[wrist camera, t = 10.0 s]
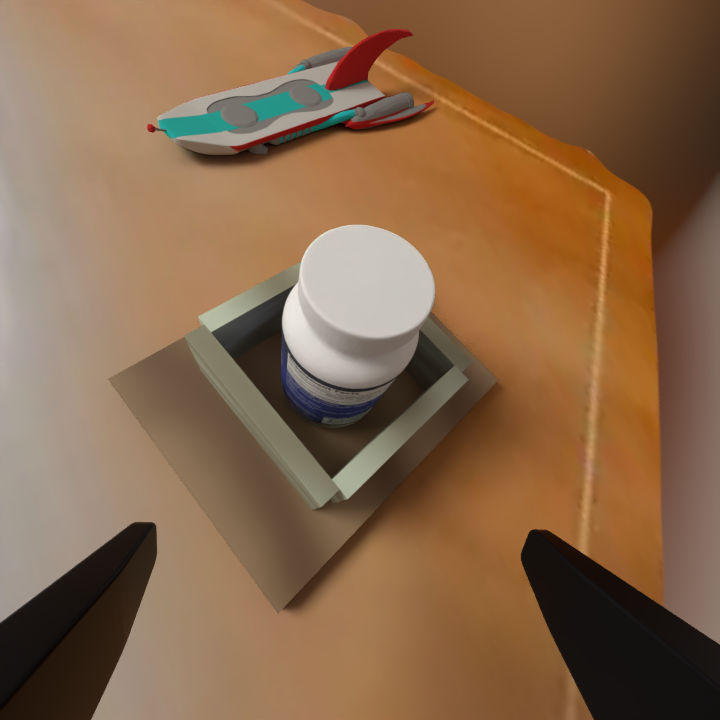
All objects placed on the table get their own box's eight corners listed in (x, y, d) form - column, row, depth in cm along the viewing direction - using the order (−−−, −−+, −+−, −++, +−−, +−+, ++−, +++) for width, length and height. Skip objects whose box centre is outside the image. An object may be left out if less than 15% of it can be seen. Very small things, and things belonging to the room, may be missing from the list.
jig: (277, 608, 16) (279, 642, 12) (115, 385, 18) (66, 343, 14) (490, 385, 24) (539, 354, 19) (356, 249, 26) (373, 194, 22)
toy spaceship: (229, 237, 27) (215, 181, 22) (135, 150, 28) (102, 80, 23) (433, 109, 37) (453, 52, 33) (356, 51, 39) (365, -11, 34)
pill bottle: (315, 323, 22) (343, 187, 13) (392, 371, 21) (474, 266, 13) (258, 395, 19) (245, 285, 10) (346, 450, 19) (410, 388, 10)
